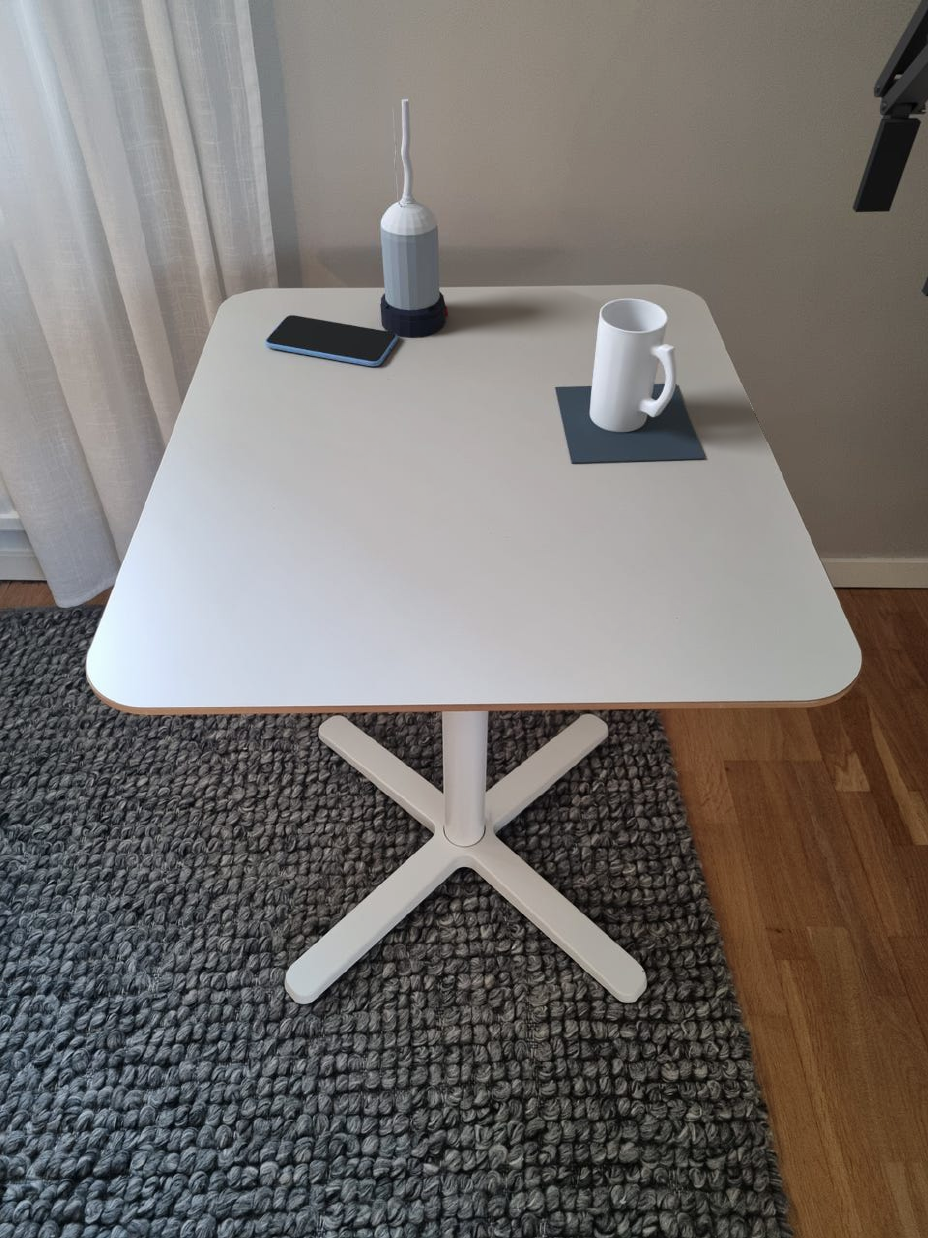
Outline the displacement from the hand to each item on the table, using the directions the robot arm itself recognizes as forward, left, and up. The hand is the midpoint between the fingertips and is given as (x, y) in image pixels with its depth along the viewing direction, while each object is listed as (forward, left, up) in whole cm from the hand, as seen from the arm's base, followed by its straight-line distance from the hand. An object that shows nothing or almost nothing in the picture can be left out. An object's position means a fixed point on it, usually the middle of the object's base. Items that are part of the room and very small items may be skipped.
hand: (904, 249), depth 65 cm
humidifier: (+40, +37, -27) cm, 61 cm away
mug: (+16, +14, -27) cm, 34 cm away
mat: (+17, +14, -27) cm, 35 cm away
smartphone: (+35, +47, -27) cm, 64 cm away
